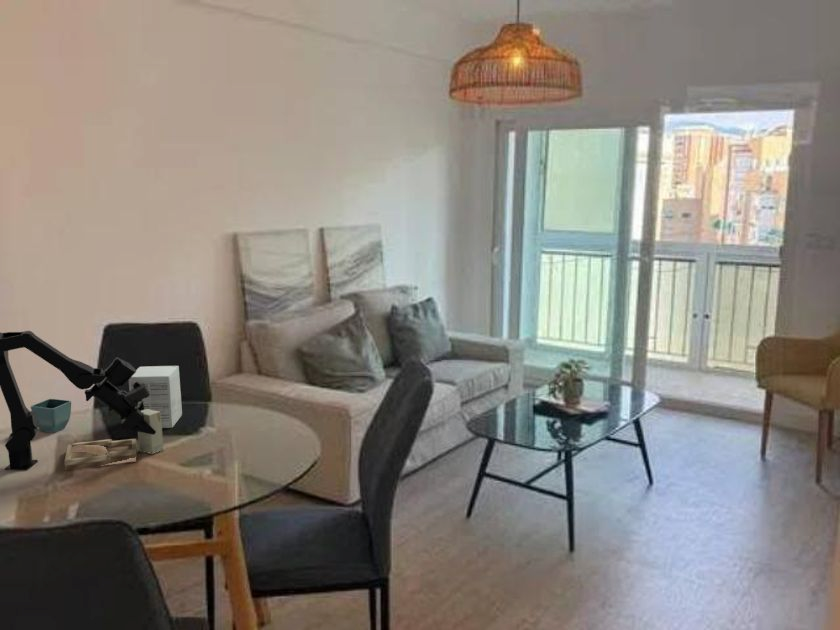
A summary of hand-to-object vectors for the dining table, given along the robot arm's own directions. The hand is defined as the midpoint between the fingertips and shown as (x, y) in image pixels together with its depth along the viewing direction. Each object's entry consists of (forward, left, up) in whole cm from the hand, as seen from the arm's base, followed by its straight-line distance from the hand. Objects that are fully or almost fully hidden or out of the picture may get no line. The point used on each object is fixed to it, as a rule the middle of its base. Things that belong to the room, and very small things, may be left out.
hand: (154, 429), depth 234 cm
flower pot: (+18, +39, -7) cm, 44 cm away
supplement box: (+26, +8, -7) cm, 28 cm away
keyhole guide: (-5, +14, -7) cm, 16 cm away
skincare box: (0, +1, -7) cm, 7 cm away
